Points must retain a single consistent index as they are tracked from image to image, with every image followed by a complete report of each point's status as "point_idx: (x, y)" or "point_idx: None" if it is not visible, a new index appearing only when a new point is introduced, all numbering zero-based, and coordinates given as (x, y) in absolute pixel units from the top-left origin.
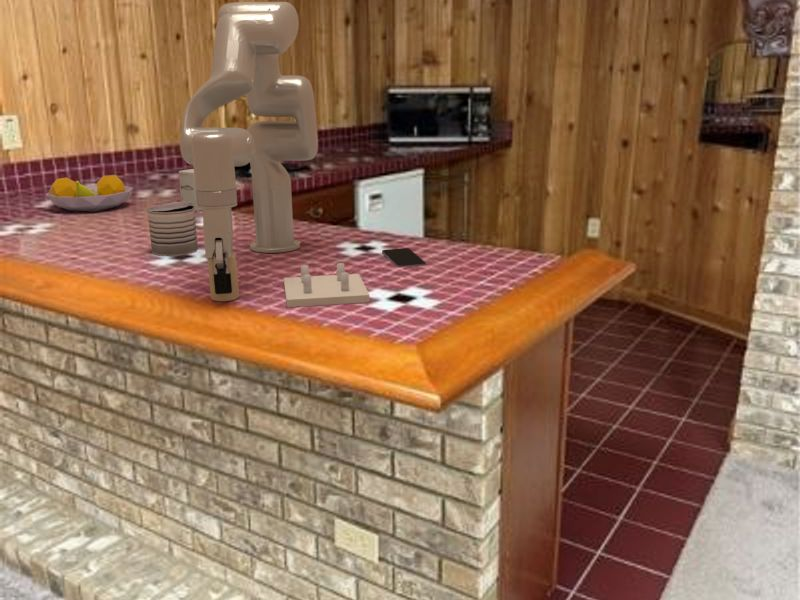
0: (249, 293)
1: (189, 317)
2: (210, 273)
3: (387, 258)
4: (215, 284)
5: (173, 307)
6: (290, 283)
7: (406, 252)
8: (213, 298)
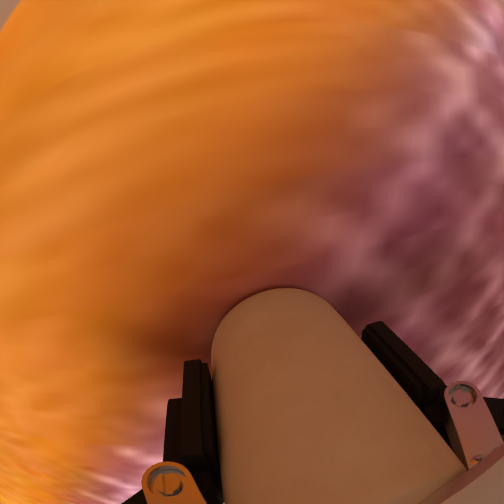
0: None
1: (4, 246)
2: (258, 417)
3: None
4: (183, 402)
5: (137, 112)
6: None
7: None
8: (229, 315)
